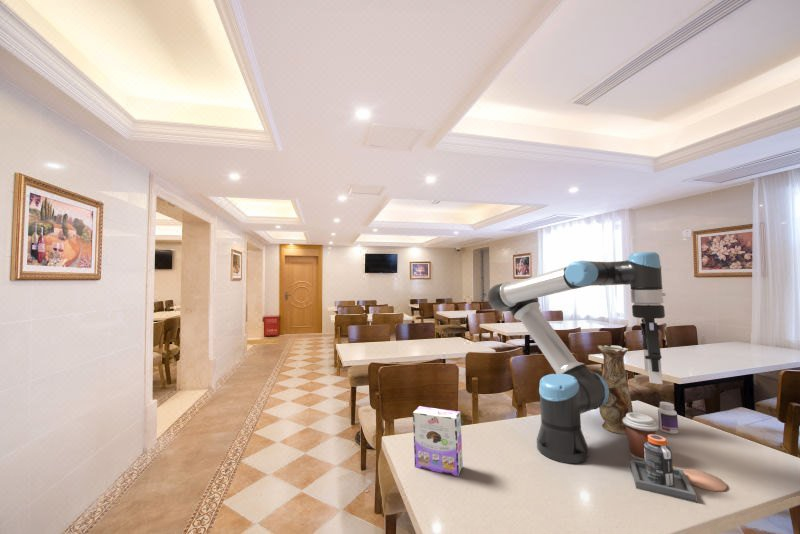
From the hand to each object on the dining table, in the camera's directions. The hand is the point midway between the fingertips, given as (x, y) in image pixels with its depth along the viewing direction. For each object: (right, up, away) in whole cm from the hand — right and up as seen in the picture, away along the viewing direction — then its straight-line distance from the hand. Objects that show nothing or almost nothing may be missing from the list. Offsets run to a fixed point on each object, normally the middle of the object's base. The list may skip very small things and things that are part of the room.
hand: (653, 377), depth 92 cm
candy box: (-62, -29, +3) cm, 69 cm away
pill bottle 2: (-4, -26, -7) cm, 27 cm away
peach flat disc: (+8, -26, -7) cm, 28 cm away
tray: (-4, -26, -7) cm, 27 cm away
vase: (+7, -28, +25) cm, 38 cm away
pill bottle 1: (+24, -28, +22) cm, 43 cm away
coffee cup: (+2, -27, +6) cm, 28 cm away
